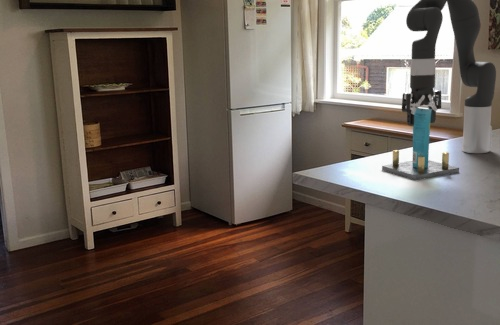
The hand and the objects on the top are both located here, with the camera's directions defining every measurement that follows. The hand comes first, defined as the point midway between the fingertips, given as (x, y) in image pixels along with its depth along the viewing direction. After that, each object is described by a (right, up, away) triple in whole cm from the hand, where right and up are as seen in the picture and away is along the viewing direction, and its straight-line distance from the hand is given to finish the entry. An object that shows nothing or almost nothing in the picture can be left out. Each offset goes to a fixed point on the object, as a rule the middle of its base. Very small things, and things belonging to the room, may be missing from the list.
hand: (421, 124), depth 173 cm
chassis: (+1, -15, +3) cm, 16 cm away
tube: (+1, -14, +3) cm, 14 cm away
